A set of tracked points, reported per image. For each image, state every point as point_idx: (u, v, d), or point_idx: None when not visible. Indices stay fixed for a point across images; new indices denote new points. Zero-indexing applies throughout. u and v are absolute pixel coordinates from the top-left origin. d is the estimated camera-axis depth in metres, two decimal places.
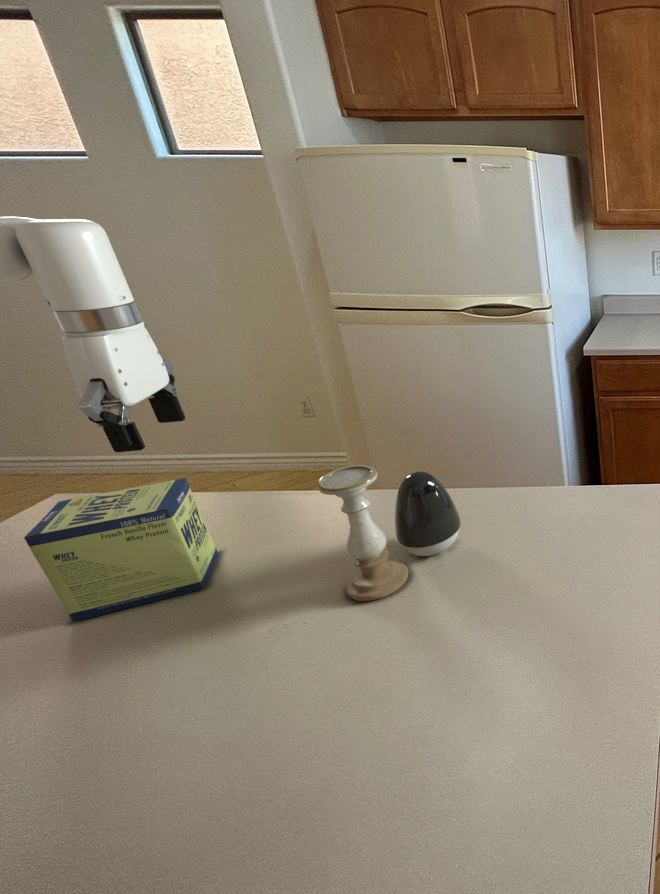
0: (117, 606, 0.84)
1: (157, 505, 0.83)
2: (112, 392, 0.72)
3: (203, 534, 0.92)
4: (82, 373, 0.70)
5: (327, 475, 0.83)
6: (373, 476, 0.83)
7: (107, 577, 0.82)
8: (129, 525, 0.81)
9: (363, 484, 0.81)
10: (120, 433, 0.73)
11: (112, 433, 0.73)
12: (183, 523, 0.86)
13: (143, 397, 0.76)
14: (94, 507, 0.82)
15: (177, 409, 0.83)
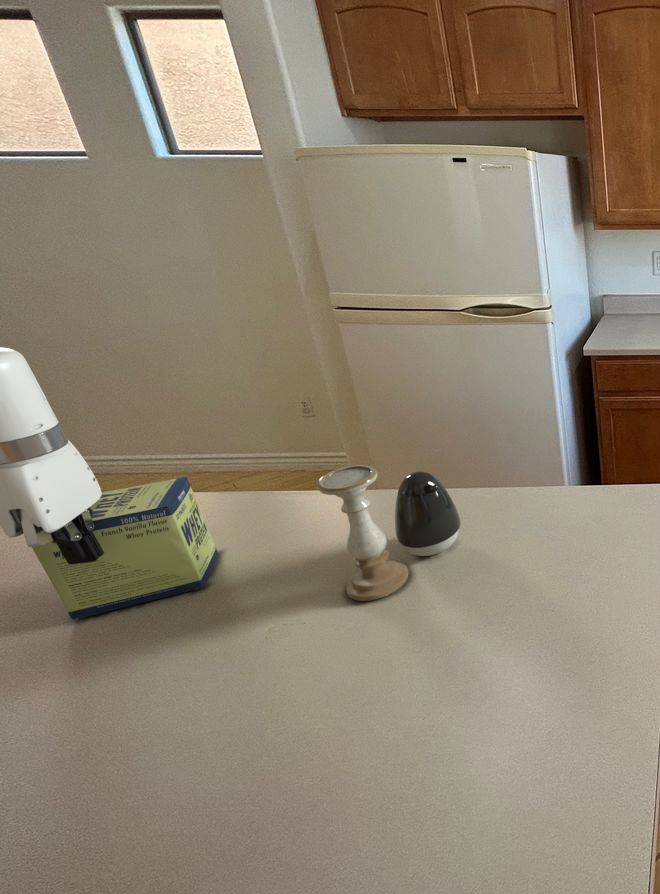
0: (116, 604, 0.84)
1: (158, 503, 0.84)
2: (33, 521, 0.70)
3: (203, 533, 0.92)
4: (0, 505, 0.68)
5: (327, 475, 0.83)
6: (373, 476, 0.83)
7: (107, 574, 0.82)
8: (130, 522, 0.81)
9: (363, 484, 0.81)
10: (73, 548, 0.76)
11: (65, 548, 0.76)
12: (183, 521, 0.86)
13: (69, 519, 0.74)
14: None
15: (94, 545, 0.78)
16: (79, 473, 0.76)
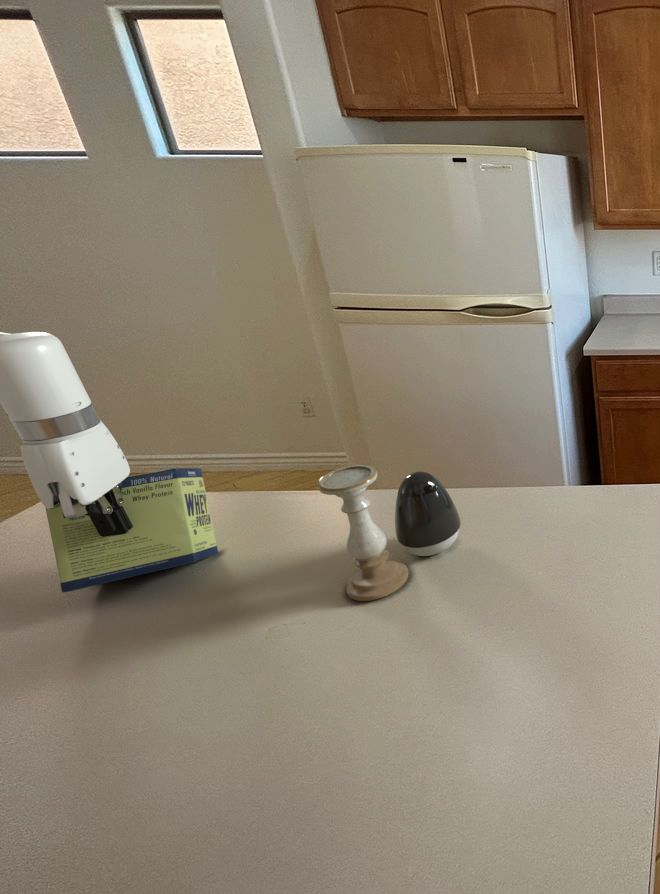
0: (108, 577, 0.83)
1: None
2: (69, 494, 0.75)
3: (206, 521, 0.94)
4: (40, 478, 0.74)
5: (327, 475, 0.83)
6: (373, 476, 0.83)
7: (106, 540, 0.84)
8: (138, 483, 0.86)
9: (363, 484, 0.81)
10: (105, 521, 0.81)
11: (97, 521, 0.81)
12: (188, 492, 0.90)
13: (102, 493, 0.79)
14: None
15: (123, 519, 0.83)
16: (110, 451, 0.81)
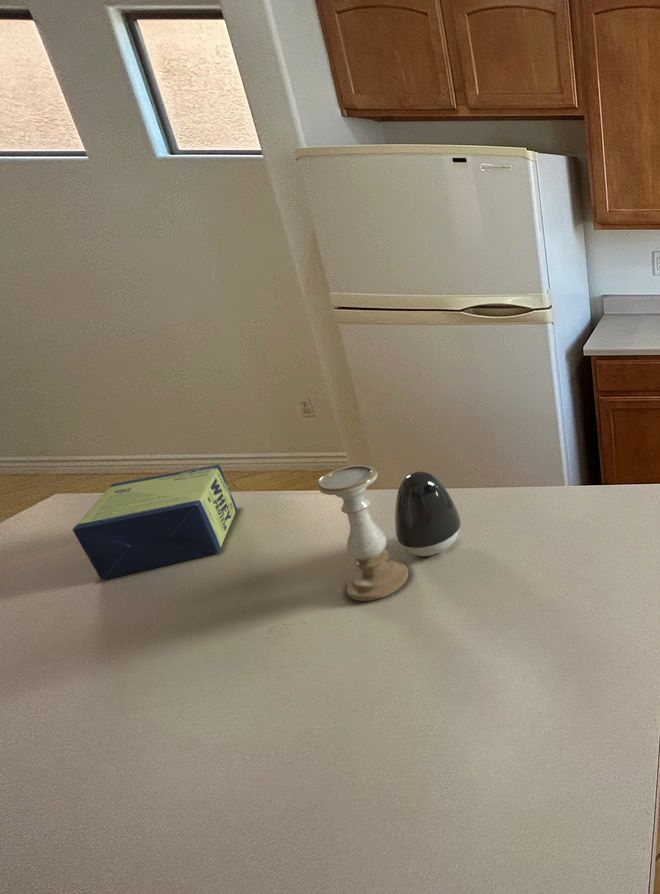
0: (118, 517, 0.89)
1: None
2: None
3: (221, 520, 1.01)
4: None
5: (327, 475, 0.83)
6: (373, 476, 0.83)
7: (135, 499, 0.94)
8: (185, 473, 1.02)
9: (363, 484, 0.81)
10: None
11: None
12: (219, 484, 1.03)
13: None
14: None
15: None
16: None
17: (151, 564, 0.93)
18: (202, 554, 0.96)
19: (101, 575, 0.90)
